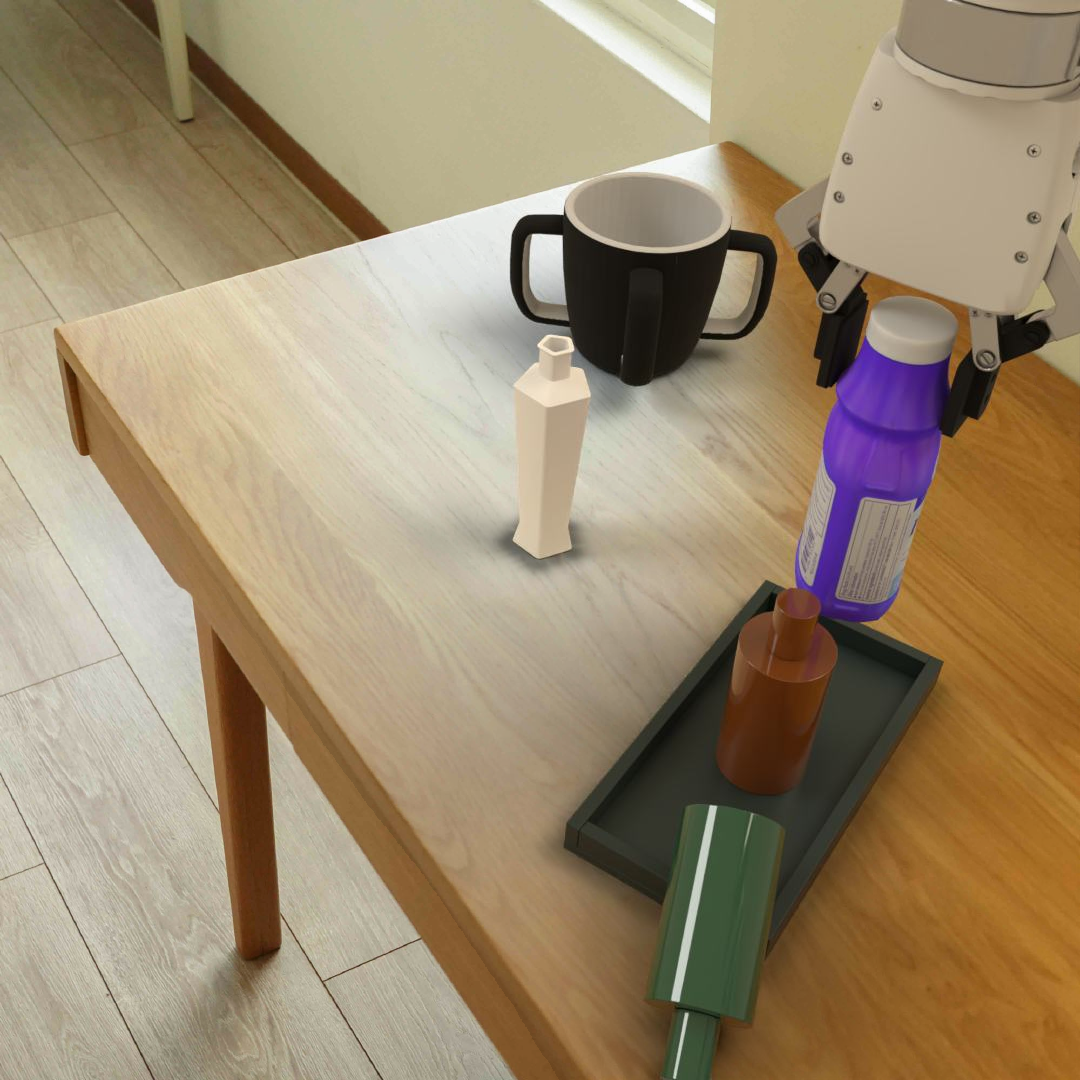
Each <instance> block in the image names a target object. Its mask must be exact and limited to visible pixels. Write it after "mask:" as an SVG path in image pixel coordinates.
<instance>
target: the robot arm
mask: <svg viewBox="0 0 1080 1080" xmlns="http://www.w3.org/2000/svg"><path fill="white" fill-rule="evenodd" d="M900 10H901V11H900V15H899V18H898V23H897V25H896V26H893V27H892V28H890V29H889V30H888V31H887V32H886V34H884V35H883V36H882V37H881V38H880V40H879V42H878V44H877V46H876V48H875V51H874V52H873V54H872V57H871V59H870V62H869V64H868V66H867V69H866V72H865V73H864V76H863V78H862V80H861V83H860V86H859V88H858V90H857V94H856V97H855V99H854V101H853V104H852V107H851V110H850V113H849V115H848V118H847V121H846V124H845V127H844V130H843V133H842V136H841V138H840V142H839V145H838V148H837V152H836V155H835V159H834V162H833V165H832V169H831V172H830V174H828V175H826V176H825V177H823V178H822V179H820V180H818V181H817V182H815V183H814V184H812V185H811V186H809V187H807V188H806V189H805V190H803V191H801V192H800V193H798V194H796V195H795V196H794V197H792V198H790V199H789V200H787V201H786V202H785V203H784V204H782V206H780V207H779V208H778V209H776V211H775V213H774V216H773V217H774V222H775V224H776V225H777V227H778V229H779V230H780V232H781V233H782V235H783V237H784V238H785V240H786V241H787V242H788V244H789V245H790V247H791V248H792V250H795V251H796V253H797V262H798V264H799V266H800V267H801V269H802V270H803V272H804V274H805V275H806V277H807V279H808V280H809V282H810V284H811V285H812V287H813V289H814V291H815V292H816V296H815V304H816V307H817V308H818V310H819V311H821V312H822V313H821V319H820V323H819V327H818V332H817V335H816V336H817V337H816V341H815V346H814V350H813V358H814V359H816V360H819V361H820V363H819V367H818V370H817V376H816V381H815V385H816V386H818V387H820V388H823V389H825V390H826V389H828V388H830V389H831V388H833V387H834V386H835V385H836V383H837V379H838V378H839V376H840V374H841V373H842V372H843V370H844V369H845V368H846V367H847V366H849V365H850V364H851V363H852V362H853V361H854V360H855V358H856V357H857V354H858V348H859V344H860V341H861V336H862V332H863V328H864V324H865V320H866V316H867V311H868V307H869V303H870V300H869V299H867V298H868V295H869V294H868V293H867V292H865V291H864V289H863V287H862V286H863V284H864V283H865V281H866V280H867V278H868V277H869V276H870V275H871V274H872V275H875V276H878V277H880V278H884V279H887V280H890V281H892V282H895V283H898V284H901V285H903V286H907V287H909V288H912V289H915V290H918V291H921V292H923V293H926V294H929V295H932V296H935V297H939V298H941V299H944V300H946V301H950V302H953V303H955V304H958V305H961V306H964V307H967V309H968V319H969V331H970V343H971V347H970V350H968V352H967V354H966V355H965V356H964V357H963V359H962V360H961V361H960V362H959V364H958V366H957V367H956V371H955V374H954V378H953V380H952V384H951V386H950V388H951V390H950V393H949V396H948V399H947V403H946V406H945V409H944V413H943V416H942V419H941V422H940V426H939V430H940V431H942V432H941V434H942V436H945V437H947V438H950V439H953V438H954V437H955V435H956V434H957V433H958V431H959V430H960V428H961V427H962V426H963V425H964V423H965V422H966V421H967V419H968V418H970V419H972V420H975V421H979V420H980V418H981V417H982V416H983V414H984V412H985V411H986V410H987V407H988V405H989V403H990V399H991V396H992V393H993V390H994V387H995V385H996V381H997V378H998V376H999V372H1000V369H1001V367H1002V364H1004V363H1007V362H1010V361H1012V360H1015V359H1017V358H1019V357H1022V356H1024V355H1025V356H1026V355H1027V354H1030V353H1032V352H1035V351H1038V350H1040V349H1042V348H1043V347H1044V346H1045V345H1047V344H1050V343H1053V342H1058V341H1059V342H1060V341H1062V340H1065V339H1068V338H1070V337H1073V336H1077V335H1080V259H1079V257H1078V255H1077V252H1076V251H1075V249H1074V247H1073V245H1072V243H1071V241H1070V236H1071V233H1072V229H1073V225H1074V222H1075V218H1076V215H1077V212H1078V207H1079V203H1080V0H902V6H901V9H900ZM819 215H820V219H819ZM1043 282H1044V283H1045V285H1046V288H1047V289H1048V292H1049V293H1050V295H1051V297H1052V299H1053V301H1054V304H1055V305H1052V306H1051V307H1050V308H1047V309H1044V308H1043V309H1038V310H1035V311H1033V312H1030V313H1028V314H1026V315H1024V316H1023V315H1022V316H1021V317H1019V314H1021V313H1023V312H1025V311H1026V310H1027V309H1028V308H1029V306H1030V304H1031V302H1032V300H1033V298H1034V296H1035V294H1036V292H1037V291H1038V290H1039V289H1040V286H1041V284H1042V283H1043Z"/></svg>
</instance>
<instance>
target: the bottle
mask: <svg viewBox="0 0 1080 1080" xmlns="http://www.w3.org/2000/svg"><path fill="white" fill-rule="evenodd" d="M958 332H959V322H958V320H957V318H956V315H954V313H952V312H951V310H949V309H948V308H946V307H945V306H944V305H942V304H940V303H938V302H936V301H934V300H931V299H928V298H925V297H920V296H914V295H895V296H888V297H885V298H883V299H881V300H879V301H878V302H876V304H874V305H873V307H872V309H871V310H870V313H869V318H868V322H867V325H866V329H865V335H864V338H863V340H862V344H861V347H860V349H859V351H858V352H857V354H856V357H855V360H854V361H853V362H852V363H851V364H850V365H849V366H847V367H846V368H845V369H844V370H843V372H842V373H841V374H840V376H839V378H838V379H837V382H836V383H835V394H836V398H837V399H836V402H835V403H834V405H833V407H832V409H831V411H830V413H829V416H828V418H827V422H826V425H825V429H824V434H823V439H822V449H821V454H820V458H819V463H818V466H817V472H816V475H815V479H814V483H813V487H812V491H811V493H810V494H811V495H810V499H809V503H808V507H807V511H806V515H805V519H804V523H803V527H802V531H801V534H800V536H799V539H798V543H797V546H796V550H795V551H796V552H795V559H794V577H795V585H796V588H801V589H804V590H807V591H809V592H811V593H813V594H814V595H815V596H816V597H817V598H818V599H819V601H820V603H821V610H820V614H819V615H822V616H825V617H827V618H832V619H840V620H844V621H848V622H860V623H868V622H875V621H879V620H880V619H881V618H882V617H883V616H884V615H885V614H886V613H887V612H888V611H889V610H890V608H891V607H892V605H893V604H894V602H895V601H896V599H897V597H898V594H899V592H900V588H901V584H902V579H903V578H902V577H903V574H904V570H905V566H906V563H907V560H908V556H909V553H910V550H911V546H912V544H913V543H912V542H913V539H914V535H915V533H916V529H917V526H918V522H919V519H920V517H921V514H922V510H923V506H924V503H925V500H926V496H927V494H928V490H929V488H930V486H931V484H932V481H933V480H934V477H935V475H936V472H937V468H938V467H937V466H938V462H939V457H940V453H941V452H940V451H941V447H942V446H941V445H942V438H943V437H942V436H943V435H942V434H941V432H942V431H940V430H939V426H940V422H941V419H942V416H943V413H944V409H945V406H946V403H947V399H948V396H949V393H950V390H951V386H950V377H949V375H950V374H949V372H950V363H951V362H950V361H951V357H952V355H953V354H952V353H953V350H954V345H955V342H956V339H957V335H958Z"/></svg>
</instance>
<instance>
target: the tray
mask: <svg viewBox="0 0 1080 1080" xmlns="http://www.w3.org/2000/svg"><path fill="white" fill-rule="evenodd" d="M785 589H787V588H786V587H783V586H782V585H779V584H777V583H775V582H773V581H770V580H769V579H765V580H764V582H762V584H761V585H760V586H759V587H758V589H757V590H756V591H755V592H754V594H753V595H752V596H751V597H750V598H749V600H748V601H747V602H746V603H745V604H744V606H743V607H742V608H741V610H740V611H739V612H738V613H737V614H736V616H735V617H734V618H733V619H732V621H730V623H729V624H728V625H727V627H726V628H725V629H724V630H723V631H722V633H721V634H720V635H719V636H718V637H717V638H716V640H715V641H714V642H713V644H712V645H711V646H710V647H709V648H708V650H707V651H706V652H705V653H704V654H703V655H702V657H701V658H700V659H699V660H698V661H697V663H696V664H695V666H693V668H692V669H691V670H690V672H688V674H687V675H686V676H685V677H684V679H683V680H682V681H681V682H680V684H679V685H678V686H677V687H676V689H674V691H673V692H672V693H671V695H670V696H669V697H668V698H667V699H666V701H665V702H664V703H663V704H662V706H661V707H660V708H659V709H658V711H657V712H656V713H655V714H654V715H653V717H652V718H651V719H650V720H649V721H648V723H647V724H646V725H645V726H644V727H643V728H642V730H641V731H640V732H639V734H637V736H636V737H635V738H634V740H633V741H632V742H631V743H630V745H629V746H628V747H627V748H626V749H625V751H623V753H622V754H621V755H620V756H619V758H618V759H617V760H616V762H615V763H614V764H613V765H612V766H611V768H610V769H609V770H608V771H607V772H606V773H605V775H604V776H603V777H602V779H600V781H599V782H598V783H597V784H596V786H595V787H594V788H593V790H592V791H591V792H590V793H589V794H588V795H587V796H586V798H585V799H584V801H583V802H582V803H580V806H578V808H577V809H576V810H575V811H574V813H573V814H572V815H571V816H570V817H569V819H568V820H566V823H565V830H564V831H565V832H564V841H563V848H564V849H566V850H567V851H569V852H571V853H572V854H575V855H576V856H578V857H580V858H581V859H583V860H585V861H587V862H588V863H591V865H594V866H595V867H596V868H598V869H600V870H602V871H604V872H606V873H607V874H608V875H610V876H612V877H614V878H616V879H617V880H619V881H621V882H622V883H624V884H626V885H628V886H629V887H631V888H633V889H635V890H636V891H637V892H639V893H641V894H643V895H645V896H646V897H648V898H649V899H651V900H653V901H655V902H657V903H658V904H660V905H662V906H663V902H664V897H665V892H666V887H667V882H668V878H669V873H670V868H671V863H672V858H673V853H674V848H675V844H676V839H677V834H678V829H679V824H680V819H681V814H682V810H683V808H684V807H686V806H689V805H695V804H710V805H720V806H726V807H732V808H737V809H741V810H745V811H749V812H752V813H755V814H758V815H761V816H764V817H766V818H769V819H771V820H773V821H775V822H777V823H778V824H780V825H781V826H782V827H784V829H785V830H786V838H785V844H784V850H783V855H782V861H781V867H780V873H779V879H778V884H777V890H776V896H775V902H774V908H773V913H772V919H771V925H770V931H769V937H768V942H767V948H766V954H765V960H764V963H765V962H766V961H767V959H768V957H769V955H770V954H771V953H772V951H773V949H774V948H775V946H776V944H777V943H778V941H779V940H780V938H781V936H782V935H783V933H784V931H785V930H786V928H787V926H788V924H789V923H790V922H791V920H792V918H793V917H794V916H795V914H796V912H797V910H798V909H799V907H800V906H801V904H802V902H803V901H804V899H805V898H806V895H807V894H808V893H809V891H810V889H811V887H812V886H813V884H814V883H815V881H816V879H817V878H818V876H819V875H820V873H821V871H822V870H823V869H824V867H825V865H826V863H827V862H828V860H829V859H830V857H831V855H832V854H833V852H834V850H835V849H836V847H837V846H838V844H839V842H840V841H841V839H842V838H843V836H844V834H845V833H846V832H847V830H848V828H849V826H850V825H851V823H852V822H853V820H854V818H855V816H856V815H857V813H858V812H859V810H860V809H861V807H862V805H863V803H864V802H865V800H866V799H867V797H868V795H869V794H870V792H871V791H872V789H873V787H874V786H875V784H876V782H877V781H878V779H879V778H880V776H881V774H882V773H883V771H884V770H885V768H886V767H887V765H888V764H889V761H890V760H891V758H892V757H893V755H894V753H895V752H896V750H897V748H898V747H899V745H900V744H901V742H902V740H903V739H904V737H905V735H906V734H907V732H908V731H909V729H910V727H911V726H912V724H913V722H914V721H915V719H916V718H917V716H918V714H919V713H920V711H921V709H922V708H923V707H924V705H925V703H926V702H927V700H928V698H929V697H930V695H931V693H932V692H933V691H934V689H935V688H936V685H937V683H938V680H939V677H940V674H941V672H942V669H943V666H944V664H945V662H944V660H942V659H940V658H937V657H935V656H933V655H931V654H929V653H926V652H925V651H922V650H920V649H918V648H916V647H913V646H912V645H909V644H907V643H905V642H903V641H901V640H898V639H896V638H895V637H892V636H891V635H888V634H886V633H884V632H881V631H879V630H876V629H874V628H873V627H871V626H868V625H866V624H864V623H863V622H848V621H844V620H840V619H832V618H827V617H825V616H822V615H819V618H818V623H819V624H821V625H822V626H823V627H824V628H825V629H826V630H827V631H828V632H829V633H830V634H831V636H832V637H833V639H834V641H835V643H836V646H837V650H838V657H837V661H836V665H835V669H834V672H833V676H832V679H831V683H830V686H829V690H828V693H827V697H826V700H825V704H824V707H823V711H822V714H821V718H820V721H819V725H818V729H817V732H816V736H815V739H814V743H813V746H812V750H811V753H810V757H809V760H808V764H807V767H806V771H805V774H804V776H803V778H802V780H801V781H800V783H799V784H798V785H796V786H795V787H794V788H793V789H791V790H789V791H787V792H785V793H781V794H777V795H758V794H753V793H750V792H747V791H744V790H742V789H740V788H738V787H737V786H735V785H734V784H732V783H731V782H730V781H729V780H727V779H726V778H725V776H724V775H723V774H722V773H721V771H720V769H719V767H718V765H717V762H716V758H715V749H716V744H717V740H718V735H719V730H720V725H721V721H722V716H723V711H724V706H725V702H726V697H727V692H728V687H729V683H730V678H731V673H732V668H733V664H734V659H735V654H736V649H737V644H738V640H739V635H740V632H741V629H742V628H743V626H744V625H745V624H746V623H747V622H748V621H749V620H750V619H752V618H753V617H755V616H757V615H760V614H763V613H766V612H772V611H774V607H775V603H776V598H777V596H778V594H779V593H780V592H782V591H783V590H785Z"/></svg>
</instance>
